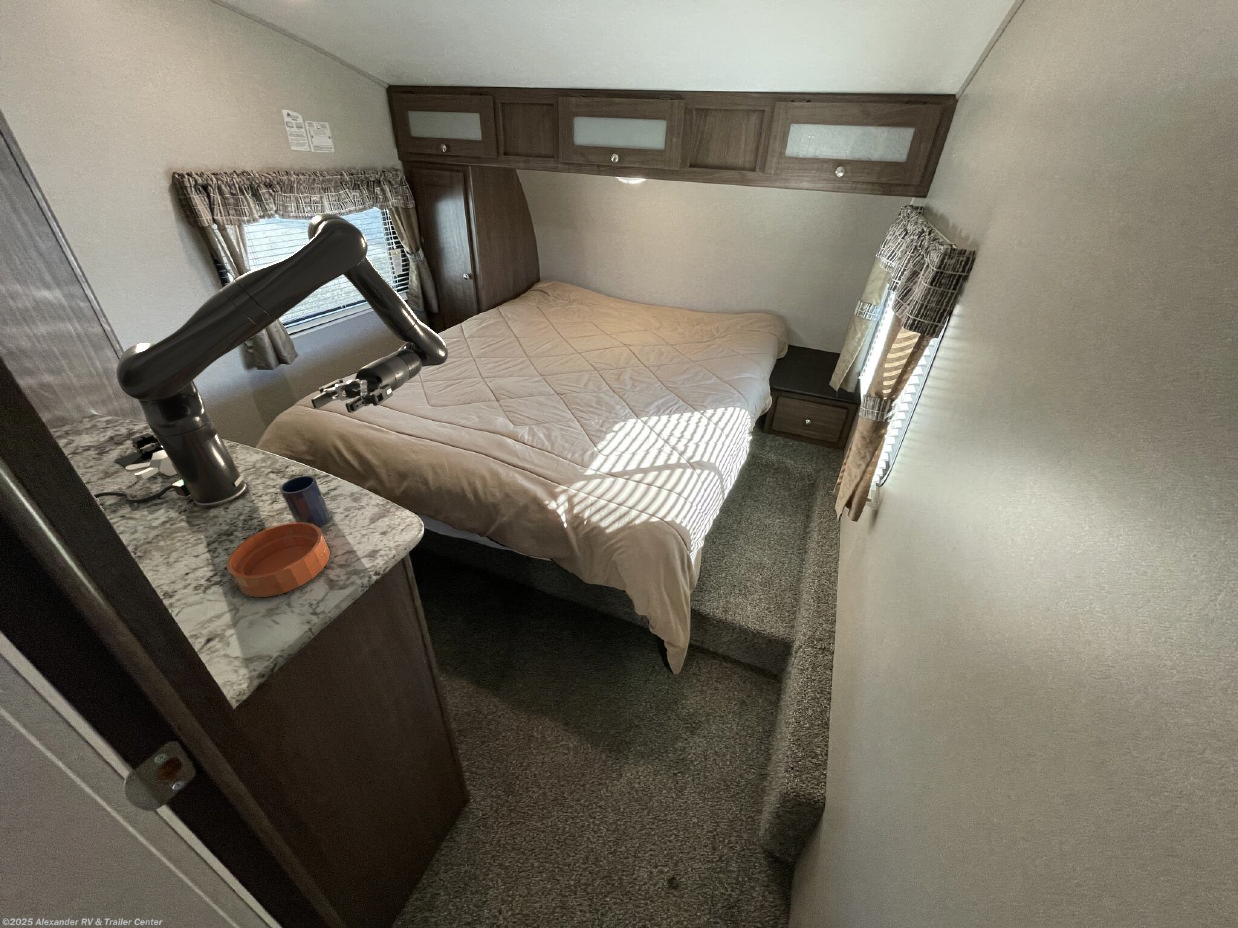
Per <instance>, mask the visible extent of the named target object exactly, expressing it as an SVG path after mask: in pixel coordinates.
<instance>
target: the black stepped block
mask: <svg viewBox="0 0 1238 928" xmlns="http://www.w3.org/2000/svg"><path fill="white" fill-rule="evenodd" d="M130 441H131V445H132V446H131V447H132V448H134V450H135V451H134V452H131V453H129V454H126V455H123V456H121V457H118V458H115V459H114V462H117V463H118V464H120V465H122V466H124V467H125V468H126V467H127V466H128V465H134V464H141V463H145V462H147V461H149V460H150V461H151V459H152V456H153V453H156V452H158V451H161V450H164V449H163V448H162V446H161V445H160V443H159V441H158V440H157V438H156V436H155V435H154V434H152V433H150V432H146V433H143V434H141V435H137V436H135V437H132V438H130ZM146 446H147V447H146Z"/></svg>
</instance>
